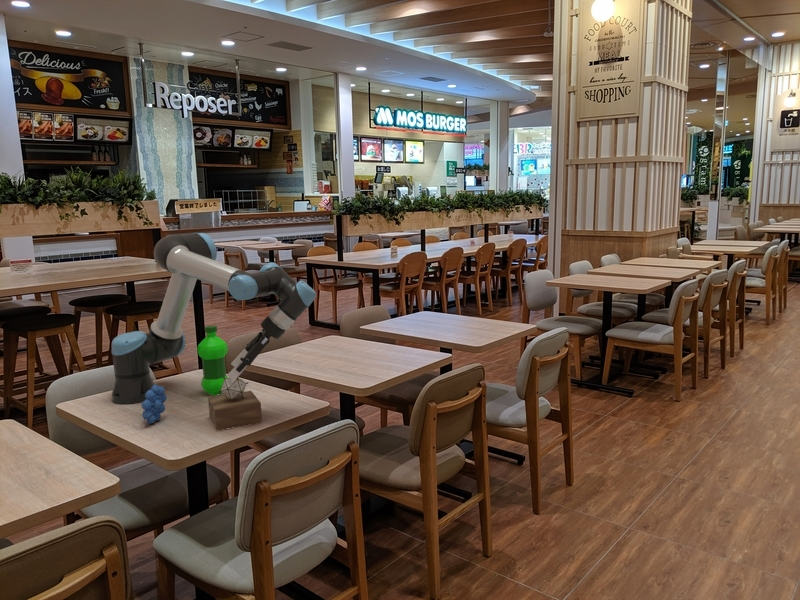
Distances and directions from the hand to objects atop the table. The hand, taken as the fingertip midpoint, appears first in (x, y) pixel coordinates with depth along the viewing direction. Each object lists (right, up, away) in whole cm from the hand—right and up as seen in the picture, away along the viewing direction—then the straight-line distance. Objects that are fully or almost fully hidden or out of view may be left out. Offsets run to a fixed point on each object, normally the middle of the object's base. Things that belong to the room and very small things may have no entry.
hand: (232, 372), depth 195 cm
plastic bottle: (-14, -11, +31) cm, 36 cm away
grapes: (-26, -17, +3) cm, 31 cm away
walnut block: (0, -16, +3) cm, 16 cm away
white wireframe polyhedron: (0, -9, +2) cm, 10 cm away
